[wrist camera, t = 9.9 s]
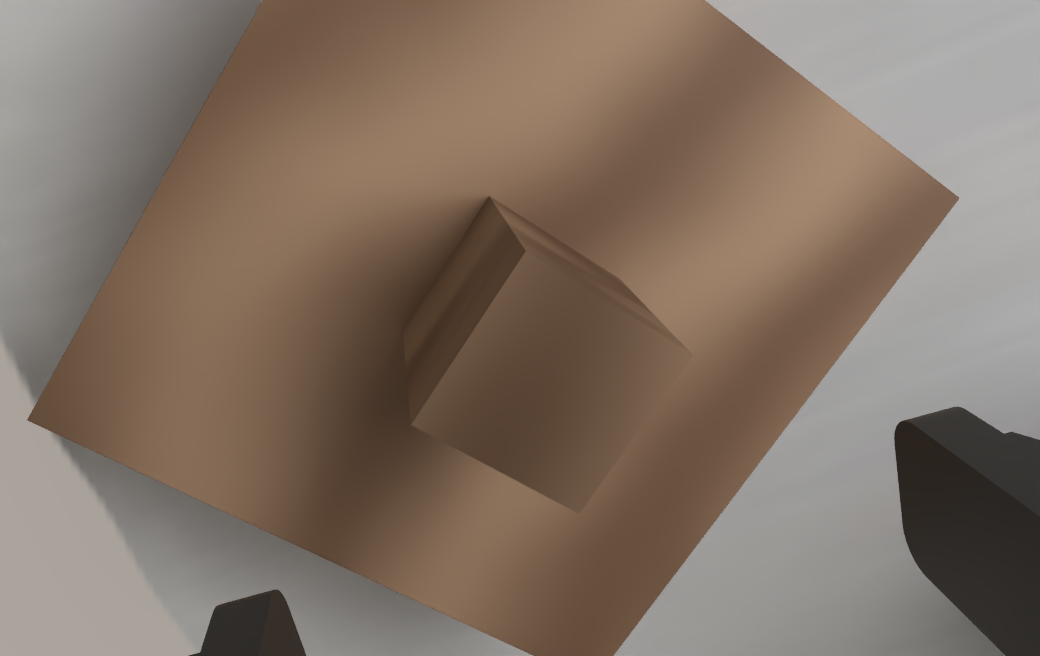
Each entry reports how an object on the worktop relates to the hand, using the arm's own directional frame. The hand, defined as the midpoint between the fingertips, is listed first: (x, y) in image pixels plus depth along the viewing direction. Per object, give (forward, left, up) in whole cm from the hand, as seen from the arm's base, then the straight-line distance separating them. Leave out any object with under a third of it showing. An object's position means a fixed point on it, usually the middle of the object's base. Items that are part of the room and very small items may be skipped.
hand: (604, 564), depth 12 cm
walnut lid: (0, -1, -10) cm, 10 cm away
